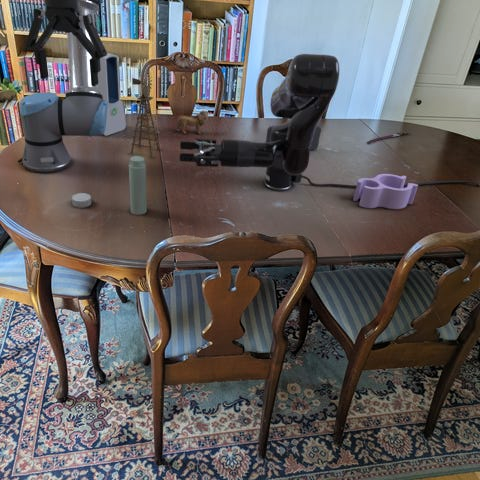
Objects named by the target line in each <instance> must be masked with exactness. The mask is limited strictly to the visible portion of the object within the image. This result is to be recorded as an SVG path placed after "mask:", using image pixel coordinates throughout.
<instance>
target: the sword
mask: <svg viewBox="0 0 480 480" xmlns="http://www.w3.org/2000/svg"><path fill="white" fill-rule="evenodd" d="M401 133H402V132H396V133H393V134H389V135H384V136H381V137H375V138H373V139H370V140H369V141H367V143H368V144H372V143H374V142H377V141H381V140H385V139H389V138H393V137H401V136H403V135H404V134H401ZM409 134H410V133H406V134H405V135H409Z"/></svg>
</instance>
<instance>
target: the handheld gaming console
mask: <svg viewBox="0 0 480 480" xmlns="http://www.w3.org/2000/svg"><path fill="white" fill-rule="evenodd" d="M274 126H275V125H270V126H268V127H267V130H266V139H265V143H269V142H270V139H271V131H272V128H273V127H274ZM321 133H322V127H321V126H319V125H317V127H316V130H315V133H314V136H313V140H312V143H311V146H310V151H312V150H317V148H318V147H319V144H320V137H321Z"/></svg>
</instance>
